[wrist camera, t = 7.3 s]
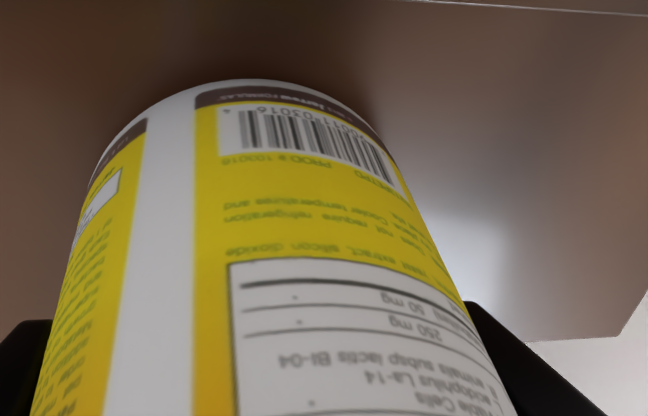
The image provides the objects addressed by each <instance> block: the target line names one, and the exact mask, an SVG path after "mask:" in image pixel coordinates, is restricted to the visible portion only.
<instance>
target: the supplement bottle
mask: <svg viewBox="0 0 648 416" xmlns="http://www.w3.org/2000/svg"><path fill="white" fill-rule="evenodd" d="M30 416H518V415H517V413H516V411H515V409H514V407H513V405H512V403H511V401H510V398H509V396H508V394H507V392H506V390H505V388H504V386H503V384H502V382H501V380H500V378H499V376H498V374H497V371H496V369H495V367H494V365H493V363H492V361H491V359H490V357H489V355H488V353H487V351H486V349H485V347H484V345H483V343H482V341H481V339H480V336H479V334H478V332H477V330H476V328H475V326H474V324H473V322H472V320H471V318H470V316H469V313H468V311H467V309H466V307H465V305H464V303H463V301H462V299H461V297H460V295H459V293H458V291H457V288H456V286H455V284H454V282H453V280H452V278H451V276H450V274H449V272H448V270H447V268H446V266H445V264H444V262H443V260H442V258H441V256H440V254H439V252H438V250H437V248H436V245H435V243H434V241H433V239H432V237H431V235H430V233H429V231H428V229H427V227H426V224H425V222H424V220H423V218H422V216H421V214H420V212H419V210H418V208H417V206H416V204H415V202H414V200H413V198H412V196H411V194H410V192H409V190H408V187H407V185H406V183H405V181H404V179H403V177H402V175H401V173H400V170H399V168H398V167H397V165H396V163H395V161H394V159H393V157H392V156H391V154H390V152H389V151H388V149H387V147H386V146H385V144H384V143H383V141H382V140H381V139H380V137H379V136H378V135H377V133H376V132H375V131H374V130H373V129H372V128H371V127H370V126H369V124H368V123H366V122H365V121H364V120H363V119H362V118H361V117H360V116H359V115H357V114H356V113H355V112H354V111H352V110H351V109H350V108H348V107H346V106H345V105H343V104H342V103H340V102H339V101H337V100H335V99H333V98H331V97H329V96H327V95H325V94H323V93H321V92H318V91H316V90H313V89H310V88H307V87H304V86H300V85H297V84H293V83H288V82H282V81H277V80H268V79H232V80H225V81H218V82H212V83H207V84H203V85H199V86H196V87H193V88H190V89H187V90H184V91H181V92H179V93H177V94H174V95H172V96H170V97H168V98H165V99H164V100H162V101H160V102H158V103H156V104H155V105H153V106H151V107H150V108H148V109H147V110H145V111H144V112H143V113H141V114H140V115H138V116H137V117H136V118H135V119H134V120H132V121H131V122H130V123H129V124H128V125H127V126H126V127H125V128H124V129H123V130H122V131H121V132H120V133H119V134H118V135H117V136H116V137H115V138H114V140H113V141H112V142H111V143H110V145H109V146H108V147H107V149H106V150H105V152H104V153H103V155H102V157H101V159H100V161H99V162H98V164H97V166H96V168H95V171H94V173H93V175H92V177H91V180H90V183H89V185H88V188H87V192H86V196H85V199H84V203H83V207H82V210H81V214H80V218H79V222H78V226H77V230H76V234H75V237H74V241H73V244H72V249H71V253H70V256H69V262H68V265H67V270H66V274H65V277H64V281H63V285H62V288H61V293H60V297H59V301H58V306H57V310H56V313H55V317H54V321H53V324H52V328H51V333H50V336H49V339H48V343H47V347H46V351H45V354H44V359H43V364H42V368H41V371H40V375H39V379H38V384H37V387H36V391H35V395H34V399H33V403H32V407H31V411H30Z"/></svg>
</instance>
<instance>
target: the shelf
mask: <svg viewBox="0 0 648 416" xmlns="http://www.w3.org/2000/svg"><path fill="white" fill-rule="evenodd" d="M232 79H268V80H277V81H282V82H288V83H293V84H297V85H300V86H304V87H307V88H310V89H313V90H316V91H318V92H321V93H323V94H325V95H327V96H329V97H331V98H333V99H335V100H337V101H339V102H340V103H342V104H343V105H345V106H346V107H348V108H350V109H351V110H352V111H354V112H355V113H356V114H357V115H359V116H360V117H361V118H362V119H363V120H364V121H365V122H366V123H368V124H369V126H370V127H371V128H372V129H373V130H374V131H375V132H376V133H377V135H378V136H379V137H380V139H381V140H382V141H383V143H384V144H385V146H386V147H387V149H388V151H389V152H390V154H391V156H392V157H393V159H394V161H395V163H396V165H397V167H398V168H399V170H400V173H401V175H402V177H403V179H404V181H405V183H406V185H407V187H408V190H409V192H410V194H411V196H412V198H413V200H414V202H415V204H416V206H417V208H418V210H419V212H420V214H421V216H422V218H423V220H424V222H425V224H426V227H427V229H428V231H429V233H430V235H431V237H432V239H433V241H434V243H435V245H436V248H437V250H438V252H439V254H440V256H441V258H442V260H443V262H444V264H445V266H446V268H447V270H448V272H449V274H450V276H451V278H452V280H453V282H454V284H455V286H456V288H457V291H458V293H459V295H460V297H461V299H462V301H473V302H476V303H477V304H479V305H480V306H481V307H482V308H483V309H485V310H486V311H487V312H488V313H489V314H490V315H492V316H493V317H494V318H495V319H496V320H497V321H499V322H500V323H501V324H502V325H503V326H504V327H505V328H507V329H508V330H509V331H510V332H511V333H512V334H514V335H515V336H516V337H517V338H518V339H519V340H521V341H522V342H536V341H553V340H569V339H586V338H603V337H616V336H618V335H619V334H620V333H621V331H622V329H623V328H624V326H625V325H626V323H627V322H628V320H629V319H630V317H631V315H632V314H633V312H634V311H635V309H636V308H637V306H638V305H639V303H640V301H641V300H642V298H643V297H644V295H645V294H646V292H647V291H648V0H0V343H1V342H2V341H3V340H4V339H5V338H6V337H7V335H8V334H9V333H10V332H11V331H12V330H13V329H14V328H15V327H16V326H17V325H18V324H19V323H20V322H22V321H24V320H37V319H52V320H54V317H55V313H56V310H57V306H58V301H59V297H60V293H61V288H62V285H63V281H64V277H65V274H66V270H67V265H68V262H69V256H70V253H71V249H72V244H73V241H74V237H75V234H76V230H77V226H78V222H79V218H80V214H81V210H82V207H83V203H84V199H85V196H86V192H87V188H88V185H89V183H90V180H91V177H92V175H93V173H94V171H95V168H96V166H97V164H98V162H99V161H100V159H101V157H102V155H103V153H104V152H105V150H106V149H107V147H108V146H109V145H110V143H111V142H112V141H113V140H114V138H115V137H116V136H117V135H118V134H119V133H120V132H121V131H122V130H123V129H124V128H125V127H126V126H127V125H128V124H129V123H130V122H131V121H132V120H134V119H135V118H136V117H137V116H138V115H140V114H141V113H143V112H144V111H145V110H147V109H148V108H150V107H151V106H153V105H155V104H156V103H158V102H160V101H162V100H164V99H165V98H168V97H170V96H172V95H174V94H177V93H179V92H181V91H184V90H187V89H190V88H193V87H196V86H199V85H203V84H207V83H212V82H218V81H225V80H232Z"/></svg>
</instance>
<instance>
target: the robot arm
mask: <svg viewBox="0 0 648 416" xmlns="http://www.w3.org/2000/svg"><path fill="white" fill-rule="evenodd" d="M463 303H464V305H465V307H466V309H467V311H468V313H469V316H470V318H471V320H472V322H473V324H474V326H475V328H476V330H477V332H478V334H479V336H480V339H481V341H482V343H483V345H484V347H485V349H486V351H487V353H488V355H489V357H490V359H491V361H492V363H493V365H494V367H495V369H496V371H497V374H498V376H499V378H500V380H501V382H502V384H503V386H504V388H505V390H506V392H507V394H508V396H509V398H510V401H511V403H512V405H513V407H514V409H515V411H516V413H517V415H518V416H607V415H606V414H605V413H604V412H603V411H602V410H600V409H599V408H598V407H597V406H596V405H595V404H593V403H592V402H591V401H590V400H589V399H588V398H586V397H585V396H584V395H583V394H582V393H581V392H580V391H578V390H577V389H576V388H575V387H574V386H573V385H571V384H570V383H569V382H568V381H567V380H566V379H564V378H563V377H562V376H561V375H560V374H559V373H558V372H556V371H555V370H554V369H553V368H552V367H551V366H549V365H548V364H547V363H546V362H545V361H544V360H542V359H541V358H540V357H539V356H538V355H537V354H536V353H534V352H533V351H532V350H531V349H530V348H529V347H527V346H526V345H525V344H524V343H523V342H522V341H521V340H519V339H518V338H517V337H516V336H515V335H514V334H512V333H511V332H510V331H509V330H508V329H507V328H505V327H504V326H503V325H502V324H501V323H500V322H499V321H497V320H496V319H495V318H494V317H493V316H492V315H490V314H489V313H488V312H487V311H486V310H485V309H483V308H482V307H481V306H480V305H479V304H477V303H476V302H473V301H463ZM53 321H54V320H52V319H37V320H24V321H22V322H20V323H19V324H18V325H17V326H16V327H15V328H14V329H13V330H12V331H11V332H10V333H9V334H8V335H7V337H6V338H5V339H4V340H3V341H2V342H1V343H0V416H30V411H31V407H32V403H33V399H34V395H35V391H36V387H37V384H38V379H39V375H40V371H41V368H42V364H43V359H44V354H45V351H46V347H47V343H48V339H49V336H50V333H51V328H52V324H53Z"/></svg>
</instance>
